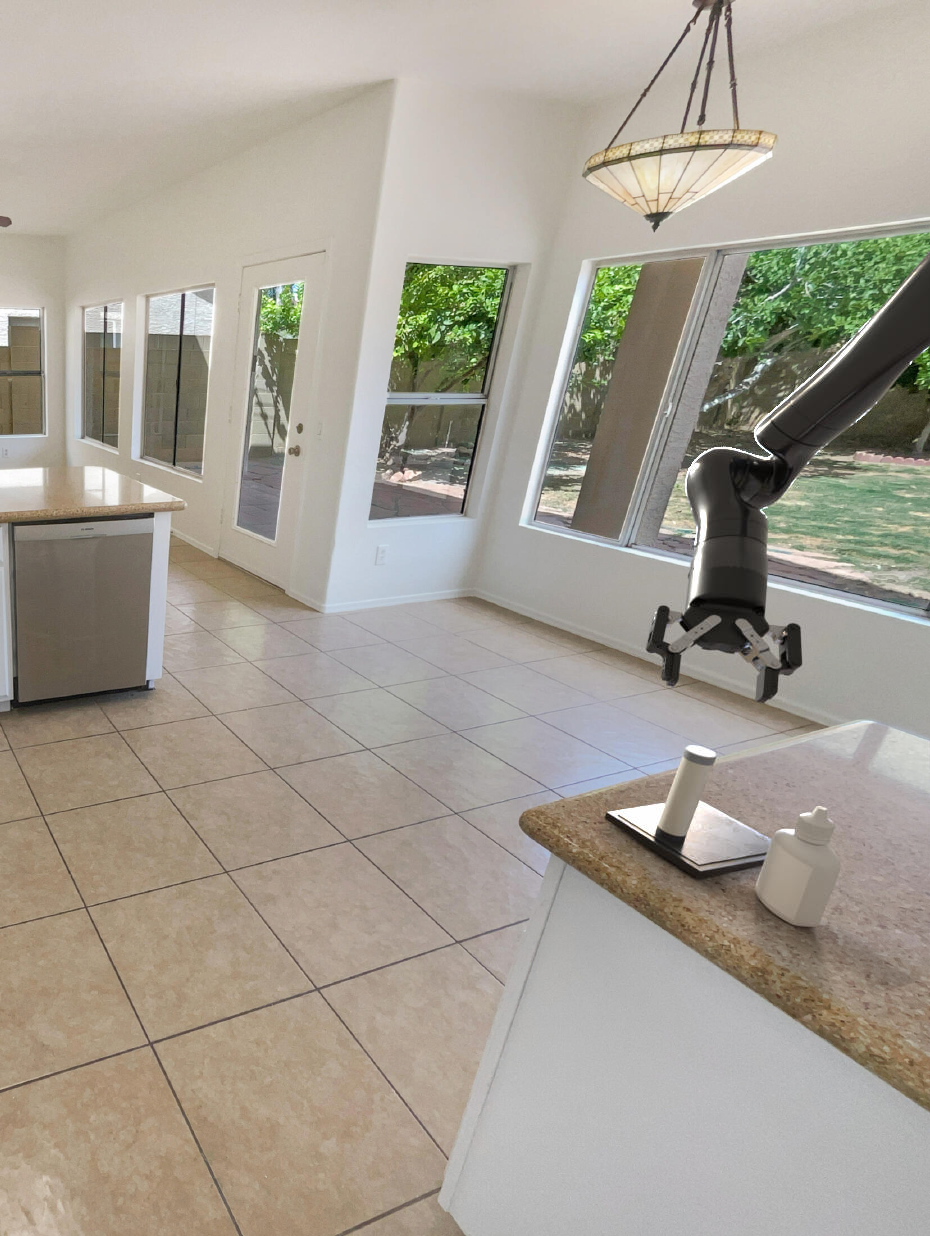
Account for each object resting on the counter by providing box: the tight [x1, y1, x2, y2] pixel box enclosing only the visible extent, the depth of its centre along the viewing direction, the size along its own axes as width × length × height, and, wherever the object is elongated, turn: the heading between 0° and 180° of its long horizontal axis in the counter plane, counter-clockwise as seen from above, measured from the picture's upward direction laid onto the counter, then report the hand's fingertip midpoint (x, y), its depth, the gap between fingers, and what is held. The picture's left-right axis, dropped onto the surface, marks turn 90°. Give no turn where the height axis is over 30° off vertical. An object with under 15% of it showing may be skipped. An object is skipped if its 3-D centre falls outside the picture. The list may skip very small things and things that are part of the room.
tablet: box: [604, 800, 773, 880], centre depth 80 cm, size 14×11×1 cm
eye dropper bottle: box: [754, 805, 842, 928], centre depth 68 cm, size 4×6×12 cm
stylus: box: [656, 744, 717, 842], centre depth 78 cm, size 3×3×11 cm
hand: (716, 691), depth 84 cm, fingers open, 8 cm apart
